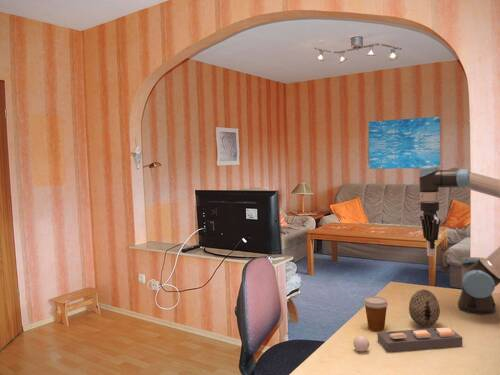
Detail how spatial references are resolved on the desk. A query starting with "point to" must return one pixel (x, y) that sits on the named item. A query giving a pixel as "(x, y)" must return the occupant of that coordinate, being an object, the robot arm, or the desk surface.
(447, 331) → the rocker
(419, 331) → the middle rocker
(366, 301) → the disposable coffee cup
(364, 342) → the white ball
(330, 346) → the desk surface
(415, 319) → the decorative egg
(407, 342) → the power strip
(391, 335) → the rocker
